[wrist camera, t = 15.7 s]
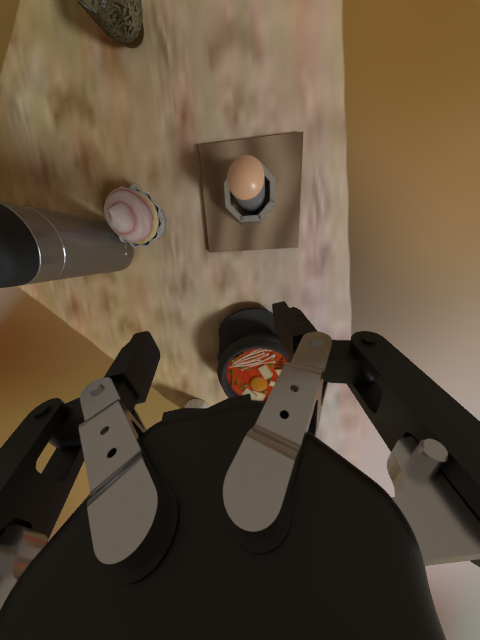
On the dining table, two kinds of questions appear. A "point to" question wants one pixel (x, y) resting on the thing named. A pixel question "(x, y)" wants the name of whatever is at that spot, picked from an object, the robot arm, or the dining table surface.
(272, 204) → the grey octagonal sleeve
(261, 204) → the grey cylinder tan top
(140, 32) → the cup
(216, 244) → the board
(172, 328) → the dining table surface
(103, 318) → the dining table surface
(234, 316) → the casserole
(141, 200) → the cupcake
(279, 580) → the robot arm
